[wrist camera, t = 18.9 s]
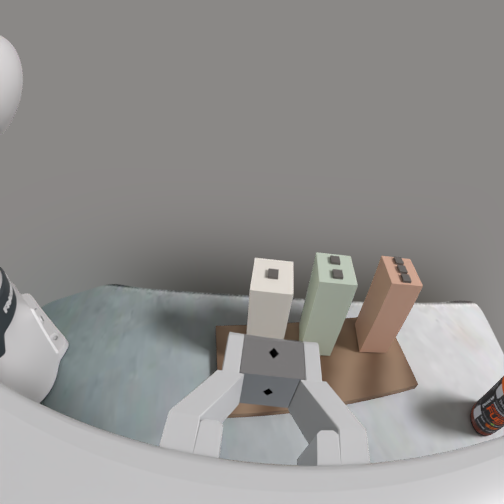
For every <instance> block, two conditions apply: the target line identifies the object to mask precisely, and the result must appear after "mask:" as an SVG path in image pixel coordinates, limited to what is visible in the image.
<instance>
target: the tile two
mask: <svg viewBox="0 0 504 504" xmlns="http://www.w3.org/2000/svg"><path fill="white" fill-rule="evenodd" d="M357 286H358V285H357V281H356V276H355V273H354V269H353V264H352V260H351V257H350V256H343V255H335V254H326V253H317V252H316V256H315V261H314V265H313V269H312V273H311V278H310V282H309V286H308V290H307V295H306V299H305V303H304V307H303V311H302V315H301V319H300V323H299V341H302V342H303V341H306V342H317V343H318V345H319V354H320V355H325V356H330V354H331V352H332V350H333V347H334V345H335V343H336V340H337V338H338V335H339V333H340V331H341V328H342V326H343V323H344V321H345V318H346V315H347V313H348V310H349V308H350V305H351V302H352V300H353V297H354V294H355V291H356V289H357Z"/></svg>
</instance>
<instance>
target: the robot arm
mask: <svg viewBox="0 0 504 504" xmlns="http://www.w3.org/2000/svg"><path fill="white" fill-rule="evenodd" d="M22 72H23V71H22V66H21V62H20V59H19V56H18V54H17V52H16V50H15V48H14V47H13V46H12V44H10V42H9V41H8V40H6V39H5V38H4V37H2V36H1V35H0V135H1V134H3V133H4V132H5V131H6V130H7V129H8V127H9V125H10V124H11V122H12V120H13V118H14V116H15V113H16V111H17V108H18V105H19V102H20V98H21V94H22V86H23V73H22ZM56 339H57V340H56ZM68 345H69V344H68V341H67V340H66V338H65V337H64V336H63V335H62V333H61V332H60V331H59V330H58V329H57V327H56V326H55V325H54V324H53V323H52V321H51V320H50V319H49V318H48V316H47V315H46V314H45V313H44V311H43V310H42V309H41V307H40V306H39V305H38V304H37V302H36V301H35V300H34V298H33V297H32V296H31V294H20V292H19V291H18V289H17V288H16V286H15V285H14V283H12V282H10V280H9V278H8V276H7V275H6V274H5V272H4V271H3V269H2V268H1V267H0V504H504V436H501V437H498V438H495V439H492V440H489V441H485V442H482V443H479V444H475V445H471V446H468V447H464V448H460V449H456V450H452V451H447V452H443V453H438V454H433V455H428V456H422V457H417V458H410V459H404V460H397V461H388V462H379V463H370V457H369V448H368V440H367V432H366V429H365V427H364V426H363V425H362V424H361V423H360V421H359V420H358V419H357V418H356V417H355V416H354V414H353V413H352V412H351V411H350V410H349V408H348V407H347V406H346V405H345V404H344V402H343V401H342V400H341V399H340V398H339V396H338V395H337V394H336V393H335V392H334V390H333V389H332V388H331V387H330V386H329V384H328V383H327V382H325V381H322V375H321V365H320V354H319V345H318V343H317V342H306V341H303V342H302V341H297V340H286V339H277V338H267V337H260V336H254V335H248V334H245V336H244V334H240V333H234V332H229V335H228V339H227V345H226V350H225V355H224V361H223V366H222V370H216V371H215V372H214V373H213V374H212V375H211V376H210V377H208V378H207V379H206V380H205V381H204V382H203V383H201V384H200V385H199V386H198V387H197V388H196V389H194V390H193V391H192V392H191V393H190V394H189V395H187V396H186V397H185V398H184V399H183V400H181V401H180V402H179V403H178V404H177V405H175V406H174V407H173V408H172V409H170V410H169V413H168V417H167V420H166V424H165V427H164V431H163V435H162V438H161V442H160V445H159V446H156V445H152V444H148V443H144V442H141V441H137V440H134V439H130V438H127V437H124V436H120V435H117V434H114V433H111V432H108V431H105V430H102V429H100V428H97V427H94V426H91V425H89V424H86V423H83V422H81V421H78V420H76V419H73V418H71V417H68V416H66V415H64V414H61V413H59V412H57V411H55V410H52V409H50V408H48V407H46V406H44V405H42V404H40V402H41V401H42V400H43V399H44V398H45V397H46V396H47V394H48V393H49V391H50V390H51V388H52V386H53V384H54V382H55V379H56V376H57V372H58V366H59V362H60V360H61V358H62V357H63V355H64V354H65V352H66V350H67V348H68ZM239 403H245V404H255V405H266V406H274V407H283V408H288V410H289V412H290V414H291V415H292V417H293V419H294V420H295V422H296V424H297V425H298V427H299V429H300V430H301V432H302V434H303V435H304V437H305V439H306V440H307V442H308V443H309V445H308V446H307V448H306V449H305V450H304V451H303V453H302V454H301V455H300V456H299V458H298V459H297V465H278V464H264V463H253V462H243V461H235V460H227V459H220V450H221V441H222V432H223V425H222V422H223V421H224V420H225V419H226V418H227V417H228V416H229V415H230V414H231V413H232V411H233V410H234V409H235V408H236V407H237V406H238V405H239Z"/></svg>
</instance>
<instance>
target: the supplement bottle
mask: <svg viewBox="0 0 504 504" xmlns="http://www.w3.org/2000/svg"><path fill="white" fill-rule="evenodd" d="M471 421H472V424H473V426H474V428H475V430H476V431H477V432H478V433H480V434H482V435H491V434H493V433H495V432H496V431H498V430H499V429H501V428H502V427H503V426H504V376H503V377H502V378H501V379H500V380H499V381H498V382H497V383H496V384H495V385H494V386H493V387H492V388H491V389H490V390H489V391H488V392H487V393H486V394H485V395H484V396H483V397H482V398H481V399H479V400H478V401H477V402H476V403H475V405H474V406H473V408H472V411H471Z"/></svg>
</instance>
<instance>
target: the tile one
mask: <svg viewBox="0 0 504 504" xmlns="http://www.w3.org/2000/svg"><path fill="white" fill-rule="evenodd" d="M292 299H293V262H289V261H280V260H271V259H261V258H255V261H254V268H253V274H252V280H251V286H250V295H249V308H248V321H247V334H248V335H254V336H260V337H267V338H277V339H284V336H285V331H286V327H287V322H288V318H289V313H290V308H291V303H292Z"/></svg>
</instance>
